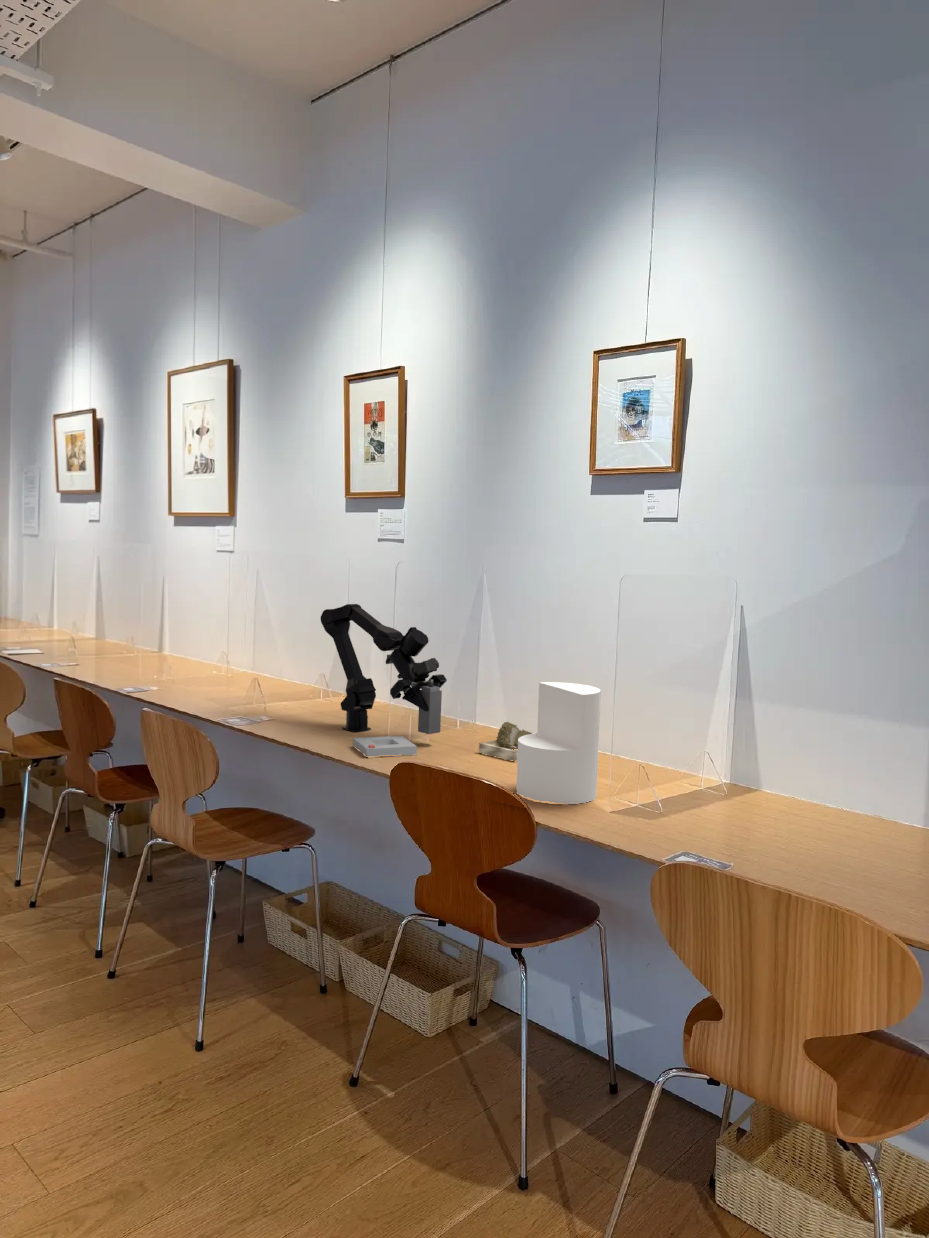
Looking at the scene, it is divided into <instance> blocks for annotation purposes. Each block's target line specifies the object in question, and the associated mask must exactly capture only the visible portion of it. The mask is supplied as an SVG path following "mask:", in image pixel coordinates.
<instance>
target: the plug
mask: <svg viewBox="0 0 929 1238" xmlns="http://www.w3.org/2000/svg"><path fill="white" fill-rule="evenodd" d="M427 681H428V686H422V689H420V693H421V695H422V697H423V699H424V701H425V702H426V704H427V706H428V709H429V710H428V711H427V712H426V711H424V710H422V709H421V708H419V707H418V715H417V716H418V719H417V733H422V734H427V735H432V734H437V733H439V734H440V733H441V726H442V723H441V722H442V720H441V719H442V694H443V692H442V690H441V688H440V687H437V686H433V680H432V679H430V678H429V679H427Z"/></svg>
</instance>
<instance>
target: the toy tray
mask: <svg viewBox="0 0 929 1238" xmlns="http://www.w3.org/2000/svg"><path fill="white" fill-rule="evenodd" d="M512 749H513V750H512ZM514 749H517V748H516V747H515V746H508V747H507V748H503V745H502V744H501V743H500V744H499V745H498V740H497V739H493V740H488V741H483V742H480V743H479V744H478V754H479V753H484V754H487V755H490V756H489V757H491V756H496V757H500V758H503V759H506V760H505V761H507V760H513V761H516V760H518V750H514ZM487 755H486V756H487ZM503 759H502V760H503Z"/></svg>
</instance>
